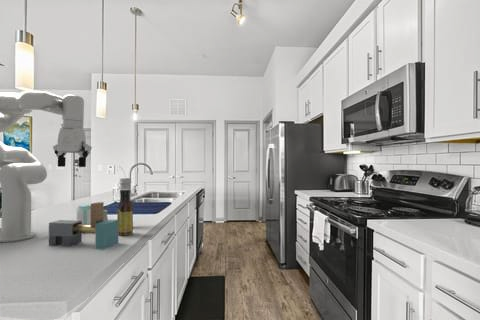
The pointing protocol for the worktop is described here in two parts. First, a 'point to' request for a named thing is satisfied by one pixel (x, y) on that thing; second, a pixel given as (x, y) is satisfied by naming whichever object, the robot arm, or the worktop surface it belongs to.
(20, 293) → the worktop surface
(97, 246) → the socket block
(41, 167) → the robot arm
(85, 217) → the can
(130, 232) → the sauce bottle
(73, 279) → the worktop surface
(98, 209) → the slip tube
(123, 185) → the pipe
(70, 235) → the sleeve
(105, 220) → the flask
